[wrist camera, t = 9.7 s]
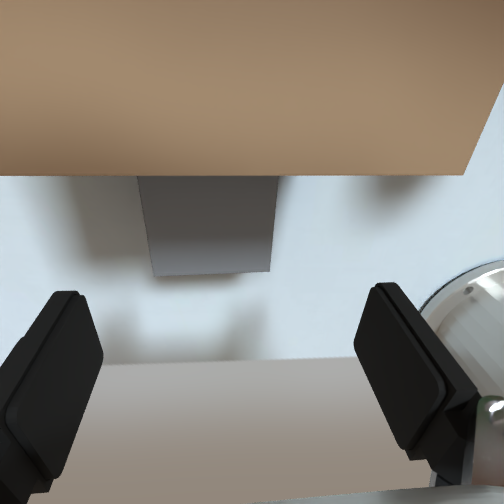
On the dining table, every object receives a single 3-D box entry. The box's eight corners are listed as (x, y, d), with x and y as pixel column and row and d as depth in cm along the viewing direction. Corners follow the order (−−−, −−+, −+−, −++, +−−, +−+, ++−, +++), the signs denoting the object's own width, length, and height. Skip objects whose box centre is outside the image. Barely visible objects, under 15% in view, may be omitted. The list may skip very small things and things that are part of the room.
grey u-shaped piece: (256, 225, 21) (269, 271, 17) (164, 228, 20) (153, 276, 16) (274, -69, 13) (306, -120, 9) (124, -84, 12) (82, -148, 8)
